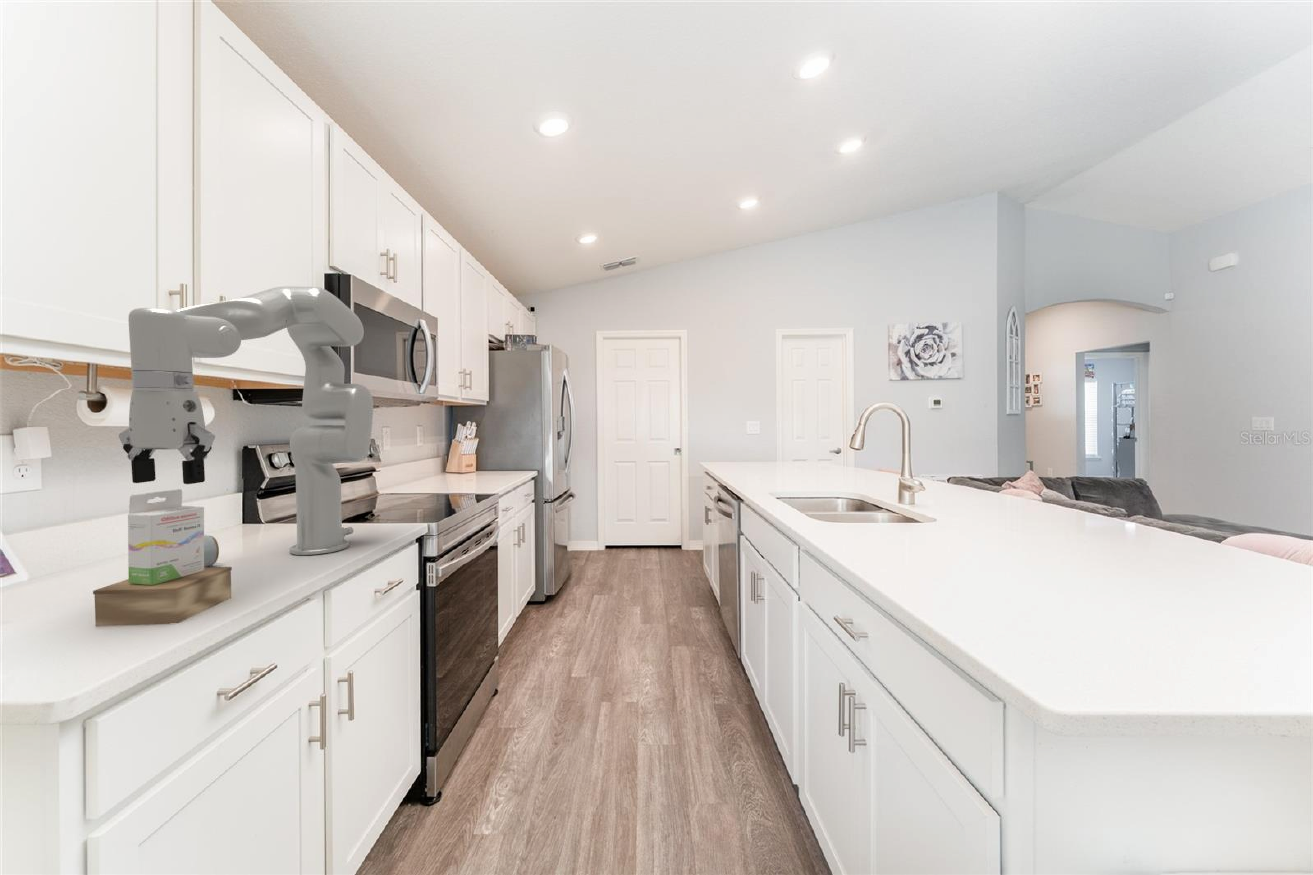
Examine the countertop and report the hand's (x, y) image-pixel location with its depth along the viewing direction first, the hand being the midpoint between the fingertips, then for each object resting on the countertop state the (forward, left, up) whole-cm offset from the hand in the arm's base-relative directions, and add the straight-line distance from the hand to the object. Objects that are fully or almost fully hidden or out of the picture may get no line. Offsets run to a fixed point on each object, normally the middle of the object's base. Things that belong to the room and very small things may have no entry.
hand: (169, 482), depth 88 cm
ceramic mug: (-21, -22, -23) cm, 38 cm away
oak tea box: (+1, 0, -23) cm, 23 cm away
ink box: (+1, 0, -17) cm, 17 cm away
